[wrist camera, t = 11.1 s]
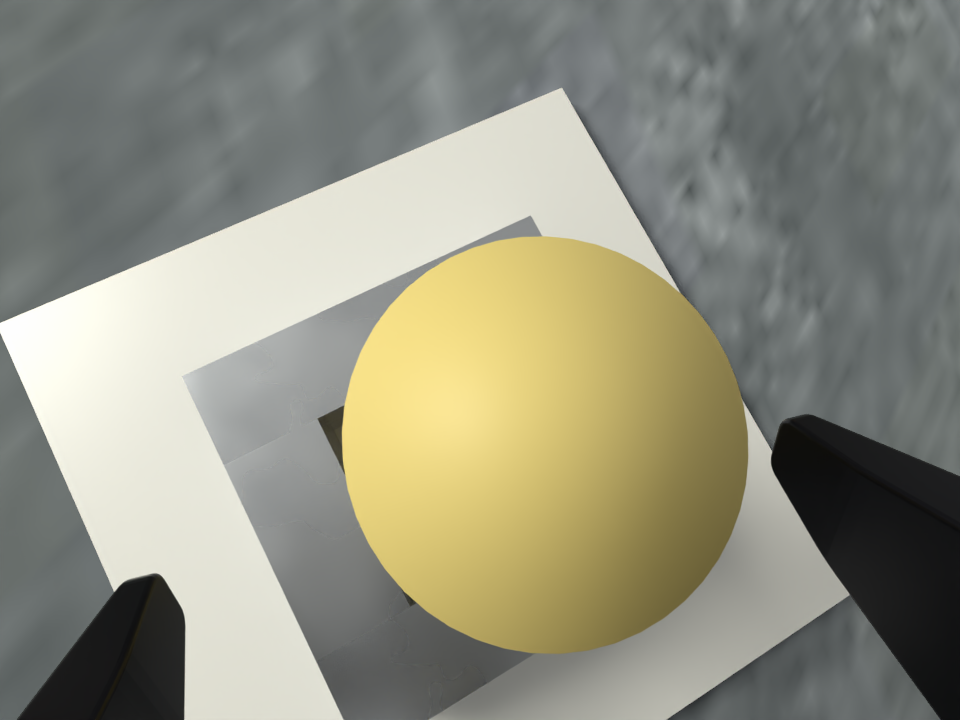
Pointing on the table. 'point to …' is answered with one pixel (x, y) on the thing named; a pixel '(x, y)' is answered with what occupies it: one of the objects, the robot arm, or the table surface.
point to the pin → (545, 445)
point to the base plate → (280, 304)
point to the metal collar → (335, 511)
